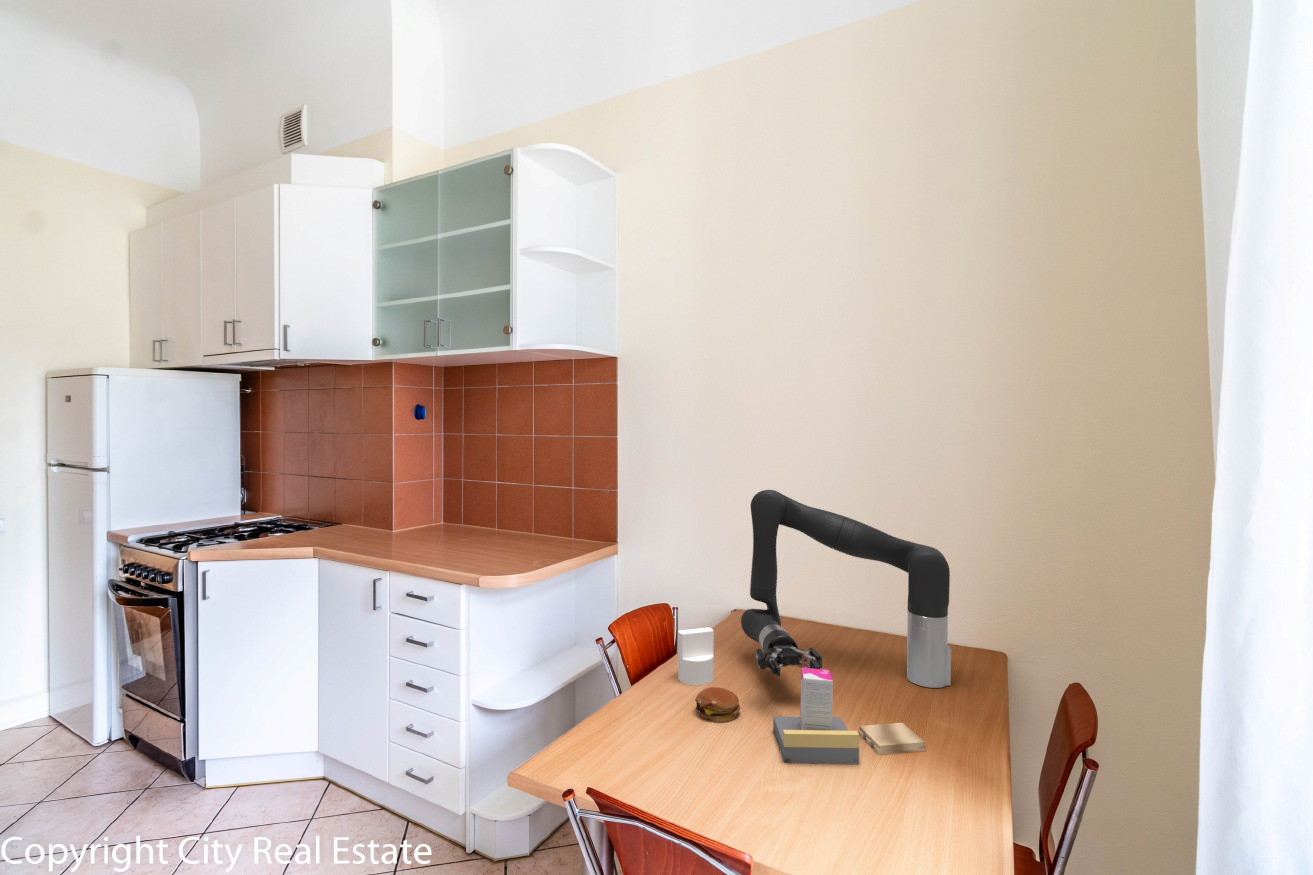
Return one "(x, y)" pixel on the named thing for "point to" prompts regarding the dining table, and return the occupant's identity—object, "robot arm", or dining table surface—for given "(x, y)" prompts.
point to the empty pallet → (891, 738)
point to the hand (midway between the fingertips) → (798, 671)
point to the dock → (816, 742)
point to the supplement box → (816, 699)
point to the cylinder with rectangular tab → (696, 656)
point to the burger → (717, 704)
